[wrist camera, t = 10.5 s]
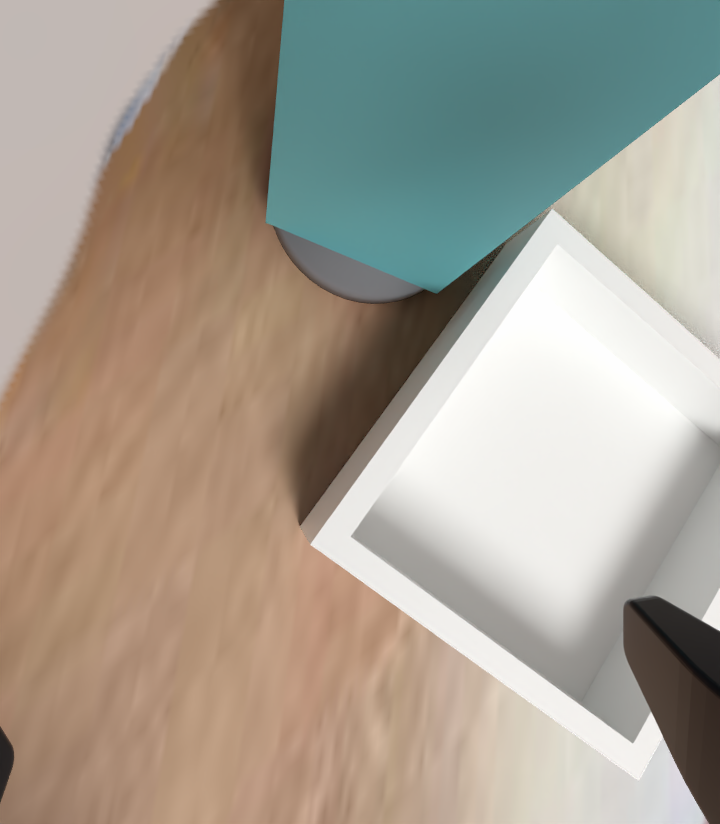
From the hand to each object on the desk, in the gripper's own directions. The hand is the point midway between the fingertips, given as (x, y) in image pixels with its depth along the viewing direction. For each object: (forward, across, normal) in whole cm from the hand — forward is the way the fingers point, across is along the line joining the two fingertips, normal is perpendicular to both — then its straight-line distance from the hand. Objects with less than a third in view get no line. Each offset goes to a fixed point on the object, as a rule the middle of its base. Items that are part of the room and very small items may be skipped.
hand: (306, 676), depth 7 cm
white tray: (+11, -7, +5) cm, 14 cm away
